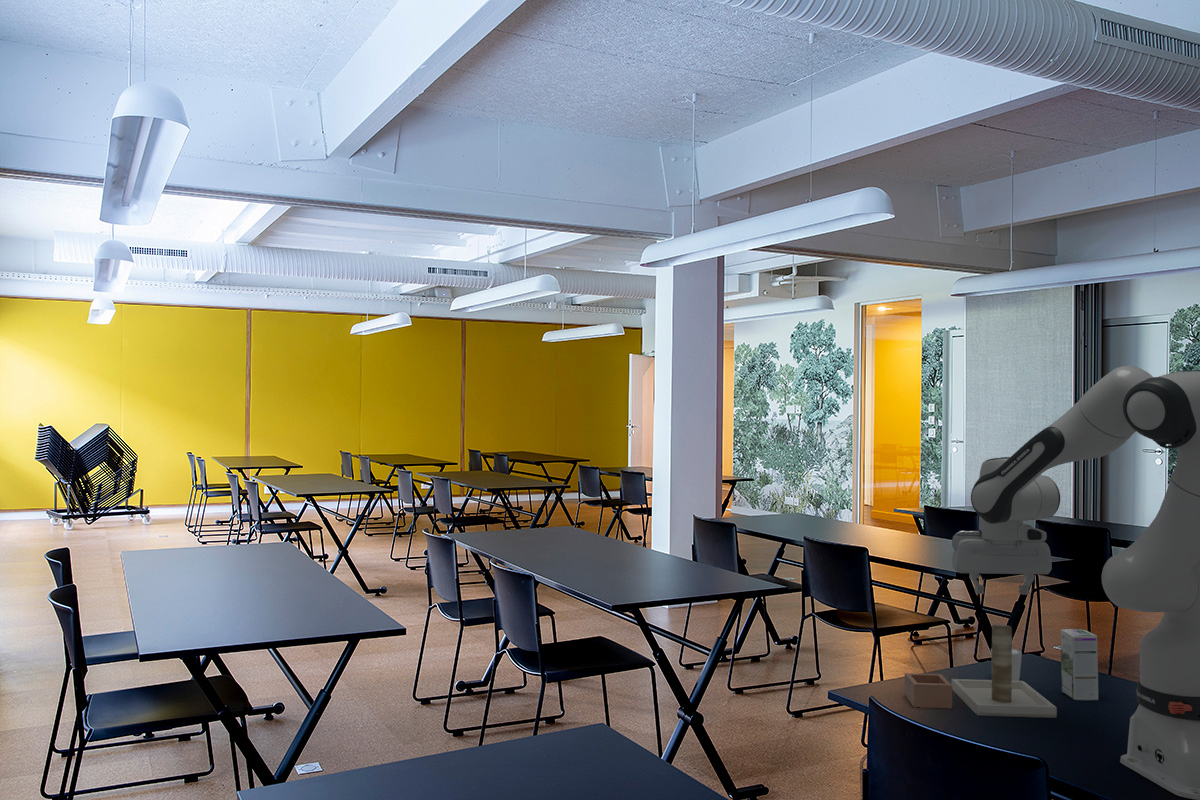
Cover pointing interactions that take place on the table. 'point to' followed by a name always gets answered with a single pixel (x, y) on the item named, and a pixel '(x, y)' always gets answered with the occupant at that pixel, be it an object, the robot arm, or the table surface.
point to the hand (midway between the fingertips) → (1001, 593)
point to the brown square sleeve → (928, 690)
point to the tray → (1021, 704)
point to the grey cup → (1015, 664)
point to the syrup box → (1079, 664)
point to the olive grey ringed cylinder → (1001, 663)
